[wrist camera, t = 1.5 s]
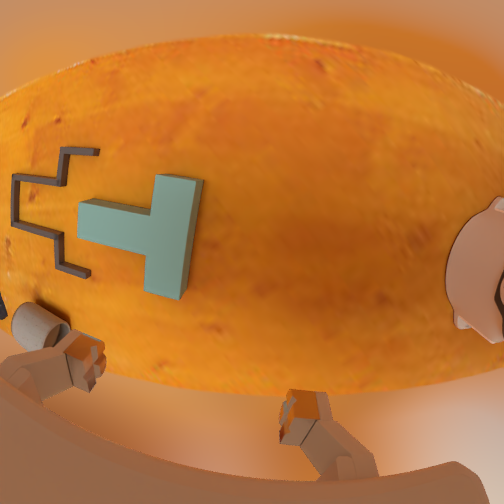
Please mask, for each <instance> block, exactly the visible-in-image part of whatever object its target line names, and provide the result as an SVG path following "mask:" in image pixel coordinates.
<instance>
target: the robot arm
mask: <svg viewBox="0 0 504 504" xmlns="http://www.w3.org/2000/svg"><path fill="white" fill-rule="evenodd" d="M446 291H447V296H448V299H449V301H450V303H451V305H452V307H453V309H454V324H455V326H456V327H457V328H459V329H467V328H473V329H474V330H476V331H477V332H478V333H479V334H480V335H482V336H483V337H484V338H485V339H486V340H488V341H489V342H490V343H492V344H494V343H496V342H497V343H498V342H502V341H504V198H502V197H500V196H499V197H497V198H496V199H495V200H494V201H493V202H492V204H491V205H490V206H489V208H488V209H486V210H485V211H483V212H481V213H479V214H477V215H475V216H474V217H473V218H471V219H470V220H469V221H468V222H467V224H466V225H465V226H464V227H463V229H462V230H461V232H460V233H459V235H458V237H457V239H456V241H455V243H454V245H453V247H452V250H451V253H450V256H449V260H448V264H447V270H446ZM104 350H105V344H104V342H103V341H101V340H99V339H96V338H94V337H92V336H89V335H87V334H85V333H82V332H80V331H78V330H76V329H74V330H71V331H70V332H69V333H68V334H67V335H66V336H65V337H64V338H63V339H62V340H61V341H60V342H59V343H58V344H57V345H56V346H55V347H47V348H43V349H39V350H34V351H30V352H26V353H22V354H18V355H13V356H9V357H7V358H6V359H5V360H4V361H3V362H2V363H1V364H0V504H490V503H489V500H488V497H487V494H486V492H485V489H484V486H483V484H482V482H481V480H480V478H479V477H478V475H476V474H475V473H474V472H472V471H471V470H470V469H468V468H467V467H465V466H463V465H462V464H460V463H458V462H456V461H451V462H447V463H444V464H440V465H436V466H432V467H428V468H424V469H420V470H415V471H410V472H405V473H400V474H395V475H388V476H381V477H379V474H378V470H377V467H376V463H375V460H374V456H373V454H372V453H371V452H370V451H369V450H367V449H366V448H365V447H364V446H363V445H362V444H361V443H360V442H359V441H358V440H356V439H355V438H354V437H353V436H352V435H351V434H350V433H349V432H348V431H347V430H346V429H345V428H344V427H342V426H341V425H340V424H339V423H338V422H337V421H333V417H332V413H331V408H330V404H329V400H328V396H327V393H326V392H316V391H314V392H313V391H305V390H296V389H289V391H288V393H287V395H286V398H287V400H286V401H285V402H283V404H282V406H281V409H280V414H279V423H280V425H281V426H282V427H281V429H280V431H279V433H280V434H279V437H280V444H286V445H295V446H300V448H301V449H302V450H303V452H304V453H305V455H306V456H307V457H308V458H309V460H310V461H311V463H312V464H313V466H314V467H315V468H316V470H317V471H318V472H319V474H320V475H321V476H320V477H319V478H318V479H317V480H316V481H285V480H271V479H260V478H251V477H243V476H236V475H229V474H224V473H218V472H213V471H208V470H203V469H198V468H194V467H189V466H186V465H182V464H178V463H174V462H171V461H167V460H164V459H160V458H157V457H153V456H151V455H148V454H145V453H142V452H139V451H136V450H134V449H131V448H128V447H125V446H123V445H120V444H118V443H115V442H113V441H111V440H108V439H106V438H104V437H101V436H99V435H97V434H95V433H92V432H90V431H88V430H86V429H84V428H82V427H80V426H78V425H76V424H74V423H72V422H70V421H68V420H67V419H65V418H63V417H61V416H59V415H57V414H56V413H54V412H52V411H50V410H49V409H47V408H46V407H44V406H43V404H42V401H43V400H45V399H47V398H50V397H52V396H53V395H56V394H58V393H60V392H63V391H65V390H67V389H69V388H71V387H73V386H75V387H77V388H79V389H82V390H84V391H86V392H89V393H90V391H91V390H92V388H93V387H94V385H95V384H96V378H98V377H101V376H102V374H103V373H104V371H105V368H106V356H105V355H104V353H103V351H104Z"/></svg>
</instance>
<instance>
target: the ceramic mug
mask: <svg viewBox="0 0 504 504" xmlns="http://www.w3.org/2000/svg"><path fill="white" fill-rule="evenodd" d="M11 331H12V334H13V336H14V338H15V339H16V341H17V342H18V343H19V344H20V345H21V346H22V347H23V348H25V349H26V350H27V351H28V352H30V351H34V350H39V349H43V348H47V347H55V346H56V345H57V344H58V343H59V342H60V341H61V340H62V339H63V338H64V337H65V336H66V335H67V334H68V333H69V332H70V331H71V329H70V326H69V324H68V323H67V322H66V321H64V320H62V319H61V318H59V317H57V316H56V315H54V314H52V313H51V312H49V311H47V310H46V309H44V308H43V307H41V306H39V305H38V304H35V303H32V302H26V303H23V304H22V305H20V306H19V307H18V308H17V310H16V311H15V313H14V315H13V318H12V322H11Z"/></svg>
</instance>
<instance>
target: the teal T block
mask: <svg viewBox="0 0 504 504" xmlns="http://www.w3.org/2000/svg"><path fill="white" fill-rule="evenodd" d="M203 181H204V180H201V179H195V178H189V177H183V176H177V175H171V174H157V175H156V177H155V184H154V190H153V197H152V205H151V209H146V208H141V207H136V206H131V205H125V204H120V203H115V202H109V201H104V200H98V199H90V200H86V201H81V202H79V208H78V229H77V238H81V239H84V240H88V241H92V242H96V243H99V244H103V245H107V246H111V247H115V248H119V249H123V250H127V251H131V252H135V253H139V254H143V255H146V262H145V277H144V291H146V292H149V293H153V294H157V295H160V296H164V297H168V298H172V299H176V300H180V298H181V297H182V295H183V294H184V292H185V291H186V289H187V283H188V275H189V268H190V261H191V254H192V247H193V240H194V234H195V227H196V221H197V215H198V209H199V204H200V198H201V192H202V187H203Z"/></svg>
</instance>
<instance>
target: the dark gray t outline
mask: <svg viewBox="0 0 504 504" xmlns="http://www.w3.org/2000/svg"><path fill="white" fill-rule="evenodd" d="M99 150H100V149H93V148H78V147H60V154H59V162H58V170H57V178H53V177H45V176H36V175H28V174H19V173H17V174H12V184H11V226H12V227H15V228H18V229H21V230H25V231H28V232H31V233H34V234H37V235H41V236H44V237H47V238H50V239H54V252H55V269H58V270H60V271H63V272H66V273H69V274H72V275H75V276H78V277H80V278H83V279H87V278H88V277H90V276H91V270H89V269H86V268H83V267H79V266H76V265H73V264H70V263H67V262H64V232H60V231H57V230H53V229H49V228H46V227H42V226H38V225H35V224H31V223H28V222H24V221H21V220H19V191H20V181H25V182H32V183H39V184H45V185H52V186H59V187H62V186H66V183H67V173H68V164H69V157H70V154H77V155H89V156H99Z"/></svg>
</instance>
